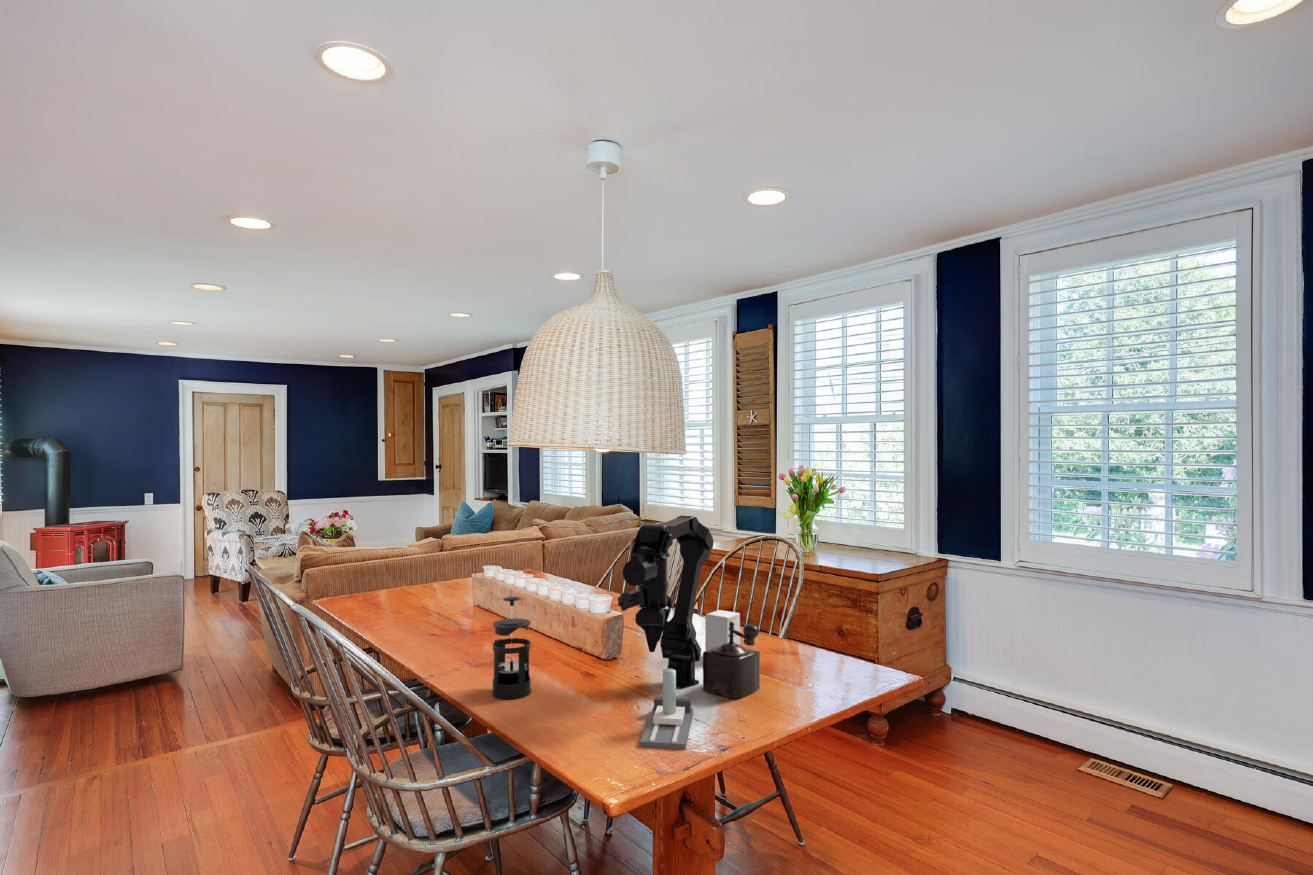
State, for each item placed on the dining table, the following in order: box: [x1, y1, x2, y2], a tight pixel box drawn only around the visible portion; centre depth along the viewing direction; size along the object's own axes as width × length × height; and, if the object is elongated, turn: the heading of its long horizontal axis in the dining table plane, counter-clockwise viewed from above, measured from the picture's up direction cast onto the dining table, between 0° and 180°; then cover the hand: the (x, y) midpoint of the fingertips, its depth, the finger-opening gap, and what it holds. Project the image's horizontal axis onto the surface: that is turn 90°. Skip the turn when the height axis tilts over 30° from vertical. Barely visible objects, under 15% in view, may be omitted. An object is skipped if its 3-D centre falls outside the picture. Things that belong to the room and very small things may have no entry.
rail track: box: [639, 696, 694, 750], centre depth 146 cm, size 19×9×4 cm, turn 172°
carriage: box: [653, 668, 685, 725], centre depth 148 cm, size 7×6×10 cm
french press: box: [491, 596, 532, 701], centre depth 168 cm, size 12×9×23 cm
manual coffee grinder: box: [702, 622, 761, 700], centre depth 168 cm, size 16×11×18 cm
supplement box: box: [704, 609, 741, 652], centre depth 196 cm, size 7×7×13 cm
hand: (654, 646), depth 161 cm, fingers open, 9 cm apart
